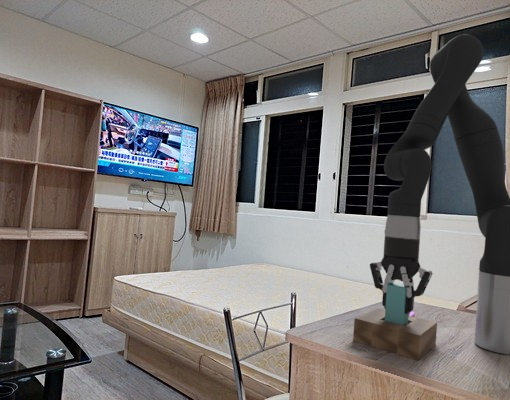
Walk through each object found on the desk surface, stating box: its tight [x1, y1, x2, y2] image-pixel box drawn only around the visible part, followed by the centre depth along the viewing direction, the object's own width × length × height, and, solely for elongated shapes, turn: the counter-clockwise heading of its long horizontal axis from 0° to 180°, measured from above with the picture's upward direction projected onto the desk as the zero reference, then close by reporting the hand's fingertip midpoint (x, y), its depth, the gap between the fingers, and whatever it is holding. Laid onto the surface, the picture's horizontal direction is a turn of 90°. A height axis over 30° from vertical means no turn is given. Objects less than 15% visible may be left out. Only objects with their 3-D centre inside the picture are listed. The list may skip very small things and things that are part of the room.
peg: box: [384, 282, 409, 326], centre depth 84 cm, size 4×4×12 cm
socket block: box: [352, 308, 438, 361], centre depth 84 cm, size 14×14×5 cm
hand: (397, 310), depth 84 cm, fingers closed on peg, 4 cm apart
